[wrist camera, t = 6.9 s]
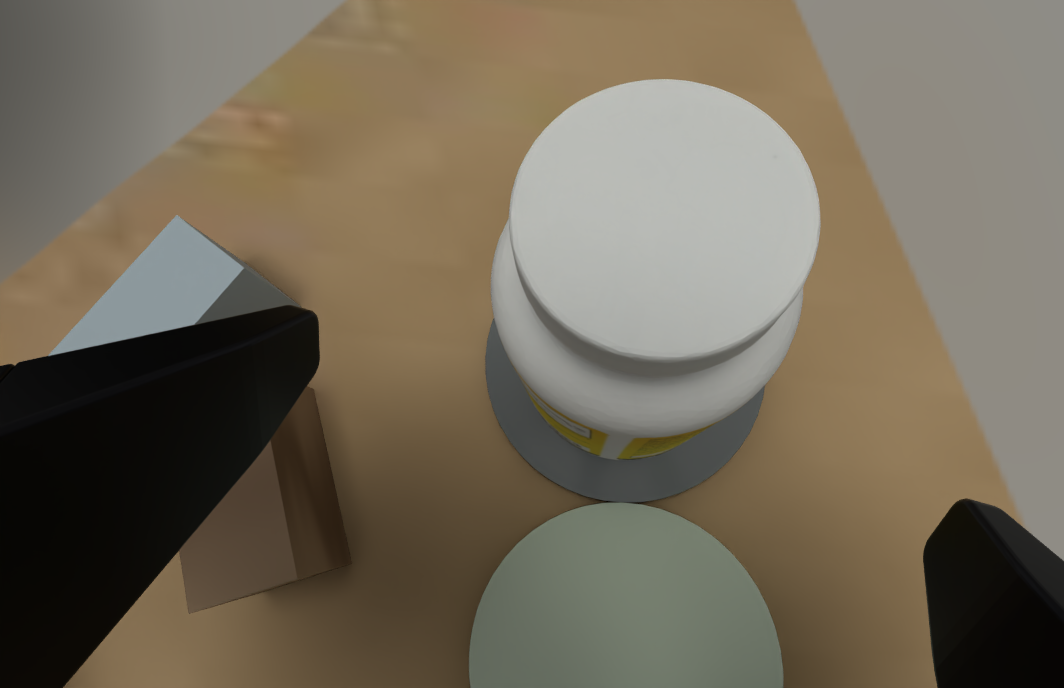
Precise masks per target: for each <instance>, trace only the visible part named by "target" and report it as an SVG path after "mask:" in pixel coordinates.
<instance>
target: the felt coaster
mask: <svg viewBox="0 0 1064 688" xmlns="http://www.w3.org/2000/svg"><path fill="white" fill-rule="evenodd" d="M469 679H470V687H471V688H783V665H782V657H781V649H780V645H779V641H778V637H777V633H776V628H775V626H774V623H773V620H772V618H771V615H770V612H769V609H768V607H767V605H766V603H765V601H764V599H763V597H762V595H761V593H760V591H759V589H758V587H757V586H756V584H755V583H754V581H753V580H752V578H751V577H750V575H749V574H748V572H747V571H746V569H745V568H744V567H743V566H742V565H741V563H740V562H739V561H738V560H737V559H736V558H735V556H734V555H733V554H732V553H731V552H730V551H729V550H728V549H727V548H726V547H724V546H723V545H722V544H721V543H720V542H719V541H718V540H717V539H716V538H714V537H713V536H712V535H710V534H709V533H707V532H706V531H705V530H703V529H702V528H700V527H699V526H697V525H695V524H694V523H692V522H690V521H688V520H686V519H684V518H682V517H681V516H678V515H675V514H673V513H670V512H668V511H665V510H662V509H659V508H654V507H650V506H646V505H642V504H633V503H623V502H615V503H599V504H593V505H587V506H583V507H579V508H576V509H573V510H570V511H567V512H565V513H562V514H560V515H558V516H556V517H554V518H552V519H550V520H548V521H547V522H545V523H543V524H542V525H540V526H539V527H537V528H536V529H534V530H533V531H531V532H530V533H529V534H528V535H527V536H526V537H524V538H523V539H522V540H521V541H520V542H519V543H517V545H516V546H515V547H514V548H513V549H512V550H511V551H510V552H509V553H508V555H507V556H506V557H505V558H504V559H503V561H502V562H501V564H500V565H499V567H498V568H497V569H496V571H495V572H494V574H493V576H492V577H491V579H490V581H489V583H488V585H487V587H486V589H485V591H484V593H483V596H482V598H481V601H480V604H479V606H478V609H477V612H476V616H475V620H474V624H473V628H472V633H471V641H470V650H469Z"/></svg>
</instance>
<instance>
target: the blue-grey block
mask: <svg viewBox="0 0 1064 688" xmlns="http://www.w3.org/2000/svg"><path fill="white" fill-rule="evenodd" d="M284 305H293V306H297V307H300V308H301V306H299V305H298V304H297V303H296V302H294V301H293V300H292V299H291V298H289V297H288V296H287V295H285V294H284V293H283V292H282V291H280V290H279V289H278V288H276V287H275V286H274V285H273V284H271V283H270V282H269V281H267V280H266V279H265V278H264V277H262V276H261V275H260V274H259V273H257V272H256V271H255V270H253V269H252V268H251V267H250V266H248V265H247V264H246V263H244V262H243V261H242V260H240V259H239V258H237V257H236V256H235V255H233V254H232V253H230V252H229V251H227V250H226V249H225V248H223V247H222V246H220V245H219V244H217V243H216V242H215V241H213V240H212V239H210V238H209V237H207V236H206V235H205V234H203V233H202V232H200V231H199V230H197V229H196V228H195V227H193V226H192V225H190V224H189V223H187V222H186V221H185V220H183V219H182V218H180V217H179V216H177V215H176V216H175V217H174V219H173V220H172V221H171V222H170V223H169V224H168V225H167V226H166V227H165V228H164V229H163V231H162V232H161V233H160V234H159V235H158V236H157V237H156V238H155V239H154V240H153V242H152V243H151V244H150V245H149V246H148V247H147V248H146V249H145V250H144V251H143V252H142V254H141V255H140V256H139V257H138V258H137V259H136V260H135V261H134V262H133V263H132V264H131V266H130V267H129V268H128V269H127V270H126V271H125V272H124V273H123V274H122V275H121V276H120V278H119V279H118V280H117V281H116V282H115V283H114V284H113V285H112V286H111V287H110V289H109V290H108V291H107V292H106V293H105V294H104V295H103V296H102V297H101V298H100V299H99V301H98V302H97V303H96V304H95V305H94V306H93V307H92V308H91V309H90V310H89V311H88V313H87V314H86V315H85V316H84V317H83V318H82V319H81V320H80V321H79V322H78V323H77V325H76V326H75V327H74V328H73V329H72V330H71V331H70V332H69V333H68V334H67V336H66V337H65V338H64V339H63V340H62V341H61V342H60V343H59V344H58V345H57V346H56V348H55V349H54V350H53V351H52V352H51V353H50V354H49V355H48V356H50V355H55V354H60V353H64V352H69V351H74V350H78V349H83V348H88V347H92V346H97V345H102V344H106V343H111V342H116V341H120V340H125V339H130V338H134V337H139V336H144V335H148V334H153V333H158V332H162V331H167V330H172V329H176V328H181V327H186V326H190V325H195V324H200V323H204V322H209V321H214V320H218V319H223V318H228V317H233V316H237V315H242V314H247V313H251V312H256V311H261V310H265V309H270V308H275V307H279V306H284Z"/></svg>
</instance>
